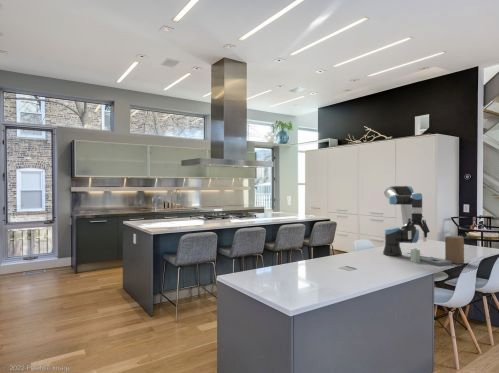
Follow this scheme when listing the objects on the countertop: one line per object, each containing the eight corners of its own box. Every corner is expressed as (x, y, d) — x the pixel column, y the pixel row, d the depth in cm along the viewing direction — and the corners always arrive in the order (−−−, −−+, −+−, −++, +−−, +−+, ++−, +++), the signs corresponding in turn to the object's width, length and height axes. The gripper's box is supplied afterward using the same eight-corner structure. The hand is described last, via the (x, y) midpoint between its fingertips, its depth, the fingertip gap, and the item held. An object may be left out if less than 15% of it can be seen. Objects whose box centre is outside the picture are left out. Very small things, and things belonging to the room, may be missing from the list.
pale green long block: (410, 261, 267) (410, 248, 267) (415, 261, 268) (415, 248, 268) (415, 262, 262) (415, 249, 263) (419, 262, 264) (419, 248, 264)
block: (444, 262, 263) (444, 236, 264) (450, 260, 269) (450, 235, 270) (459, 264, 255) (458, 237, 256) (464, 262, 262) (464, 236, 262)
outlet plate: (418, 261, 268) (418, 258, 268) (431, 259, 273) (431, 256, 273) (438, 265, 251) (438, 262, 251) (451, 264, 256) (451, 261, 256)
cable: (419, 256, 285) (419, 255, 285) (419, 256, 285) (419, 255, 285) (434, 259, 275) (434, 258, 275) (435, 259, 276) (435, 257, 276)
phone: (413, 259, 275) (413, 258, 275) (422, 257, 281) (422, 256, 281) (420, 260, 270) (420, 259, 270) (429, 259, 276) (429, 257, 276)
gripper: (400, 212, 275) (400, 238, 275) (427, 214, 252) (427, 243, 252) (407, 211, 278) (407, 237, 278) (434, 213, 255) (434, 242, 255)
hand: (417, 240), depth 265 cm, fingers open, 13 cm apart
